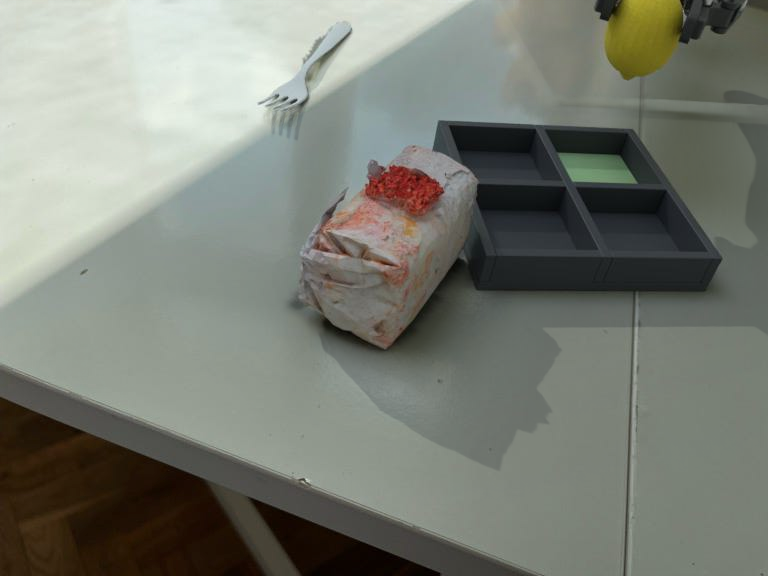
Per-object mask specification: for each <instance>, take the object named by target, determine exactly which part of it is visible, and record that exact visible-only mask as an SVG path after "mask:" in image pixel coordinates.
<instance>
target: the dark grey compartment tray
mask: <svg viewBox="0 0 768 576" xmlns="http://www.w3.org/2000/svg"><path fill="white" fill-rule="evenodd" d="M431 151H435V152H440V153H443V154H445V155H447V156H449V157H450V158H452V159H453V160H455V161H456V162H458V163H460V164H461V165H463V166H465V167H467V168H468V169H469V170H470V171H471V172H472V173H473V174H474V175H475V178H476V179H478V181H479V183H478V184H477V196H476V199H475V205H474V208H473V215H472V216H471V221H470V227H469V234H468V238H467V241H466V244H465V246H464V248H463V252H464V255H465V258H466V261H467V264H468V266H469V270H470V274H471V277H472V280H473V283H474V286H475V289H476V290H477V291H622V292H623V291H628V292H629V291H631V292H633V291H635V292H637V291H639V292H640V291H643V292H645V291H646V292H647V291H654V292H655V291H658V292H661V291H662V292H663V291H665V292H666V291H667V292H674V291H675V292H683V291H684V292H706V291H707V289H708V287H709V285H710V283H711V281H712V279H713V278H714V276H715V274H716V273H717V270H718V269H719V267H720V264H721V263H722V261H723V256H722V255H721V254H720V252H719V251H718V249H717V248H716V247H715V245H714V243H713V242H712V240H711V239H710V238H709V236H708V235H707V233H706V232H705V231H704V229H703V228H702V226H701V225H700V224H699V222H698V220H697V219H696V217H695V215H693V213H692V211H690V209H689V208H688V206H687V205H686V203H685V201H684V200H683V199H682V197H681V196H680V195H679V193H678V191H676V189H675V187H674V186H673V184H672V183H671V181H670V180H669V178H668V177H667V176H666V174H665V173H664V171H663V170H662V168H661V167H660V166H659V164H658V163H657V161H656V159H654V157H653V156H652V154H651V153H650V151H649V150H648V148H647V147H646V145H645V144H644V143H643V141H642V139H641V138H640V137H639V135H638V133H636V131H635V130H634V128H619V127H600V126H599V127H597V126H574V125H557V124H556V125H552V124H532V123H514V122H513V123H511V122H510V123H509V122H508V123H507V122H492V121H491V122H487V121H469V120H468V121H464V120H446V119H445V120H444V119H442V120H441V119H438V120H437V125H436V130H435V135H434V141H433V145H432V149H431Z"/></svg>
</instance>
